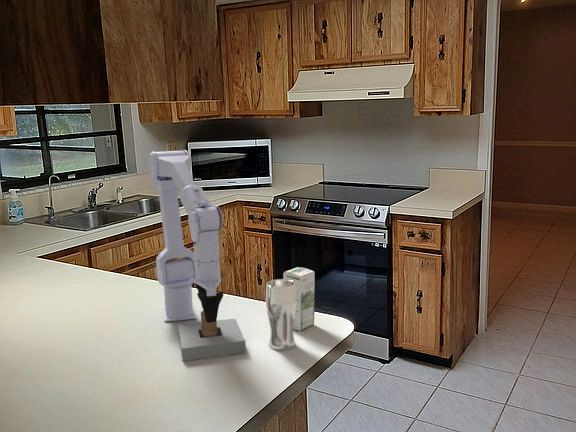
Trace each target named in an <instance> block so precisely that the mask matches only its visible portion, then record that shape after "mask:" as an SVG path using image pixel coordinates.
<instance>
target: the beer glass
mask: <svg viewBox="0 0 576 432" xmlns="http://www.w3.org/2000/svg"><path fill="white" fill-rule="evenodd" d="M265 290H266V291H265V304H266V305H265V307H266V314H267V317H268V324H269V329H270V330H269V331H270V334H269V335H270V337H269V341H268V342H269V343H268V346H269V347H270V349H273V350H276V351H288V350H291V349H293V348H294V347H295V346H296V341H295V336H294V329H293V324H294V318H295V312H296V290H295V282H294V281H291V280H287V279H283V278H281V279H280V278H279V279H278V278H277V279H272V280H270V281H267V283H266V289H265Z"/></svg>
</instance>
